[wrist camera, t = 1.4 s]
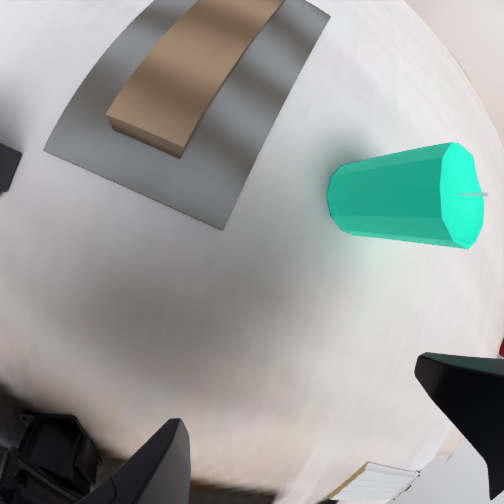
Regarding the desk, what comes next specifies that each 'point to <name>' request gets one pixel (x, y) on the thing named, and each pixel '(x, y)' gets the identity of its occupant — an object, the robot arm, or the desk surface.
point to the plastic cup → (502, 349)
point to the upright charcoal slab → (7, 165)
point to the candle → (411, 197)
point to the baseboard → (373, 483)
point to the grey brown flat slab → (188, 99)
